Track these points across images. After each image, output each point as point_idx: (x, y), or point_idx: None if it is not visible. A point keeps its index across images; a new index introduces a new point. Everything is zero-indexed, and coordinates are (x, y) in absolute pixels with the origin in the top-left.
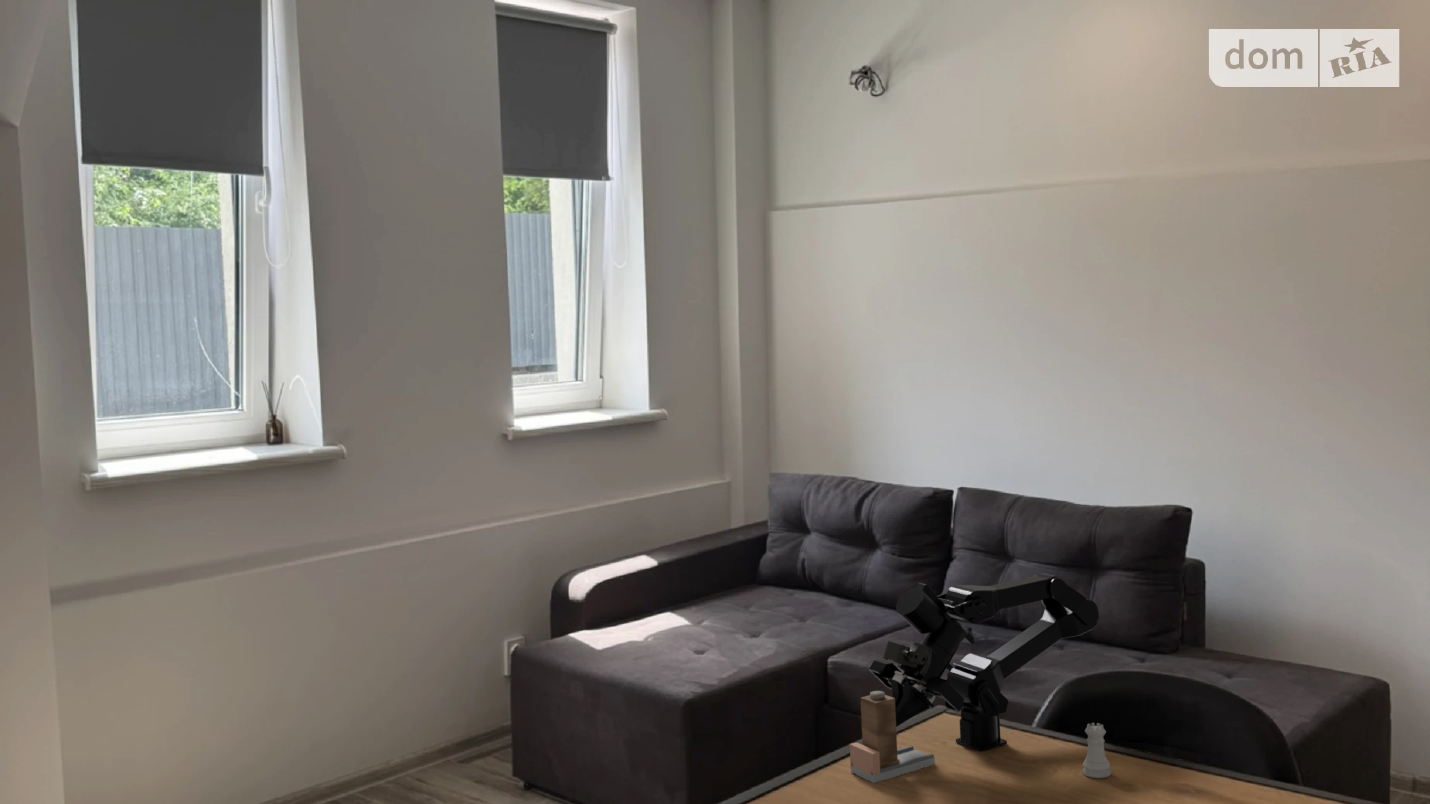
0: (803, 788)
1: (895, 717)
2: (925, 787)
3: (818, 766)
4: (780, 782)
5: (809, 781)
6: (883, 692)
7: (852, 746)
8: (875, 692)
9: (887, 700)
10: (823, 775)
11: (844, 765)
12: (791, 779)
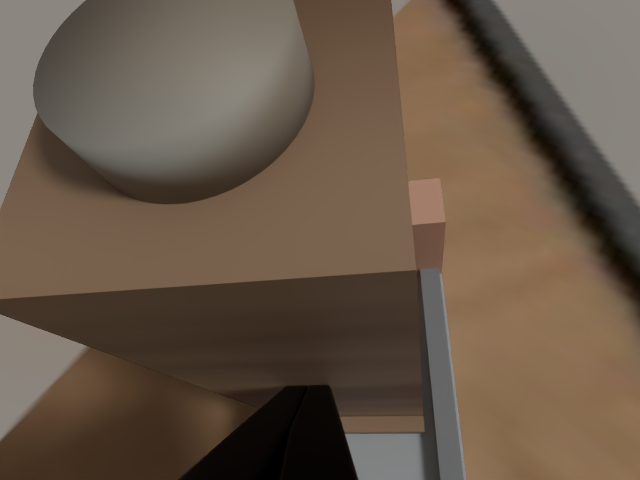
0: (400, 60)
1: (154, 367)
2: (105, 404)
3: (588, 179)
4: (494, 23)
5: (446, 94)
6: (88, 128)
7: (412, 184)
8: (213, 29)
9: (20, 162)
10: (473, 153)
11: (539, 275)
12: (501, 56)
